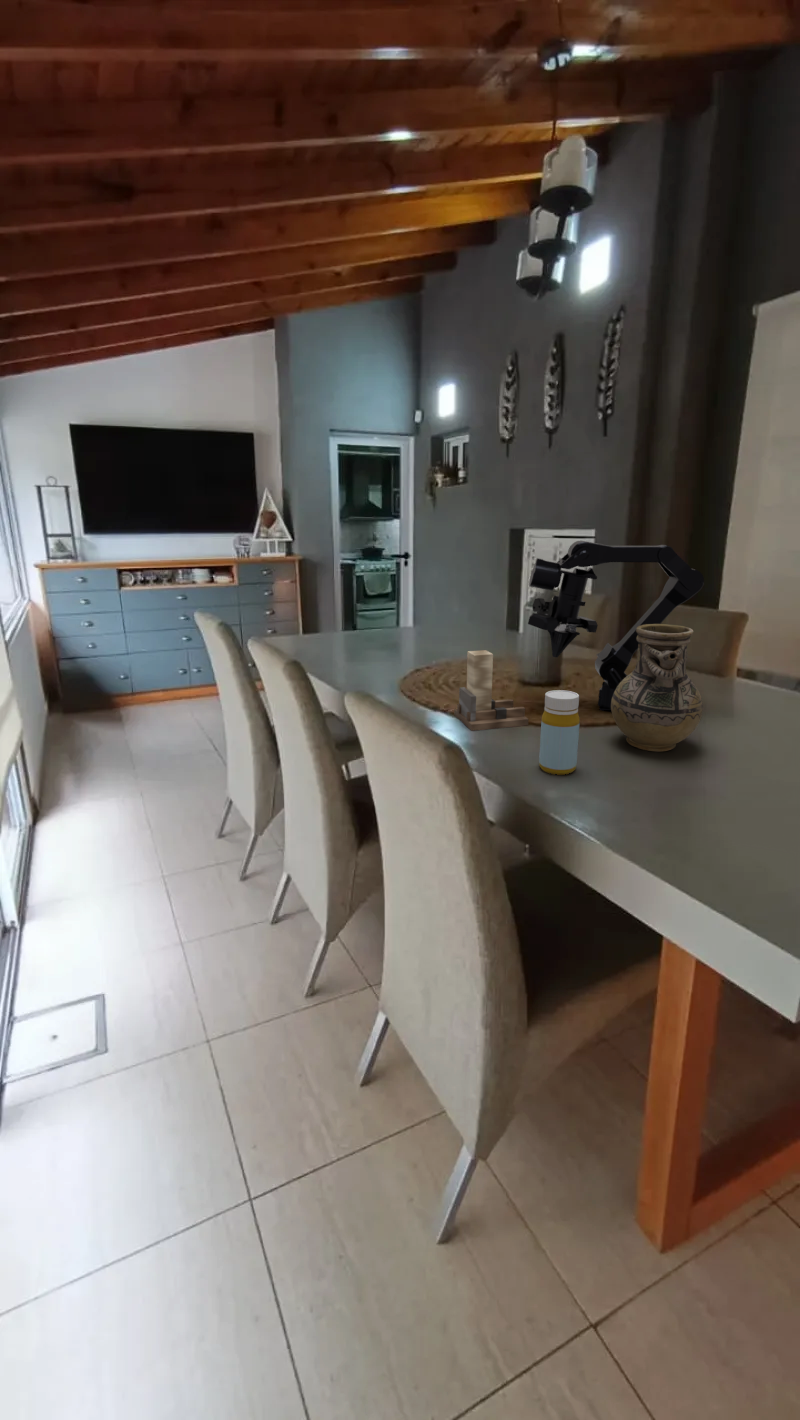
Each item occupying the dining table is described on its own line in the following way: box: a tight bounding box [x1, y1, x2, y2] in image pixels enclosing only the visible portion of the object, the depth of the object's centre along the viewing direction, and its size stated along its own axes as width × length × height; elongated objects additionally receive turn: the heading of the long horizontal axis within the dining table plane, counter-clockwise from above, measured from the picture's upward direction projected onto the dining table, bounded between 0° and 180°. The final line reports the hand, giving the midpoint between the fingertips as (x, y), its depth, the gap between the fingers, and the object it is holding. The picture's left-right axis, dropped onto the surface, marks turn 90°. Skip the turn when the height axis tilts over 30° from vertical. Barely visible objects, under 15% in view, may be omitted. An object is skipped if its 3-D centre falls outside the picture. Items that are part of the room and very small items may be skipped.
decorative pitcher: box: [610, 623, 704, 753], centre depth 133 cm, size 22×18×25 cm
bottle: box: [538, 689, 580, 776], centre depth 123 cm, size 7×7×15 cm
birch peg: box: [466, 649, 494, 711], centre depth 150 cm, size 4×4×15 cm
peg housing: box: [453, 686, 529, 732], centre depth 152 cm, size 14×12×8 cm
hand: (554, 657), depth 159 cm, fingers closed
